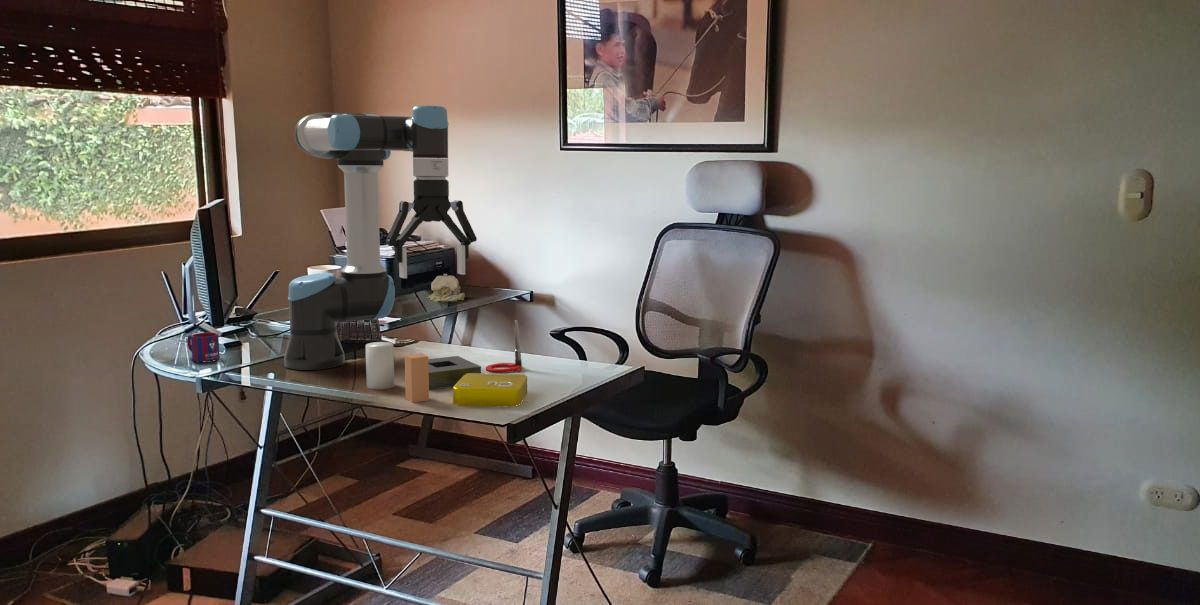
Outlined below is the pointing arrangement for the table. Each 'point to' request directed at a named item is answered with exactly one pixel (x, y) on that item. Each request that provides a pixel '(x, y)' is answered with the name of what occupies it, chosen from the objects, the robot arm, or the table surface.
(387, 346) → the round peg
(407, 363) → the square peg
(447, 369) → the bore block
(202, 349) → the mug
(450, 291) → the ceramic model
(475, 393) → the element tile
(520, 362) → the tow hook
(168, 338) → the table surface
